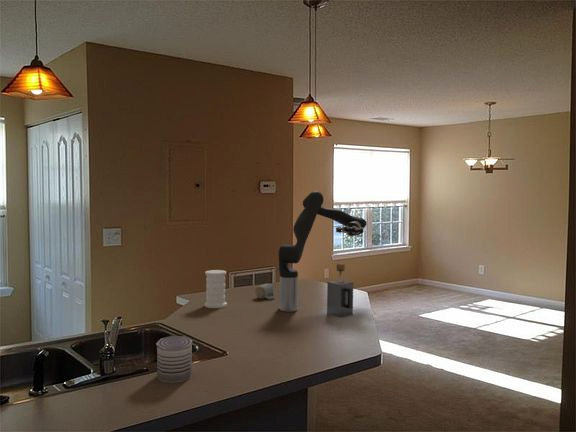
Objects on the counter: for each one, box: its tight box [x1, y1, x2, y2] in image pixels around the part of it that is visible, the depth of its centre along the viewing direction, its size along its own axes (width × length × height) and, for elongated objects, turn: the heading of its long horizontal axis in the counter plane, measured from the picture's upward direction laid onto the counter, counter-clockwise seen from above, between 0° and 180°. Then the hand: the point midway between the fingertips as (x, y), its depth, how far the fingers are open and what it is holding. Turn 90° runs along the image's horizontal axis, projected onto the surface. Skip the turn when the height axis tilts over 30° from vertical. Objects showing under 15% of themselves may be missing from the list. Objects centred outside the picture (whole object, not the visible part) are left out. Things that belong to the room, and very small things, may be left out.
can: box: [155, 335, 194, 384], centre depth 168 cm, size 11×11×12 cm
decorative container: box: [204, 269, 228, 309], centre depth 268 cm, size 12×12×18 cm
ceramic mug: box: [255, 283, 276, 301], centre depth 287 cm, size 11×8×8 cm
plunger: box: [335, 263, 346, 283], centre depth 252 cm, size 7×7×20 cm
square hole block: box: [326, 279, 354, 318], centre depth 251 cm, size 12×9×16 cm
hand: (347, 231), depth 266 cm, fingers open, 8 cm apart
